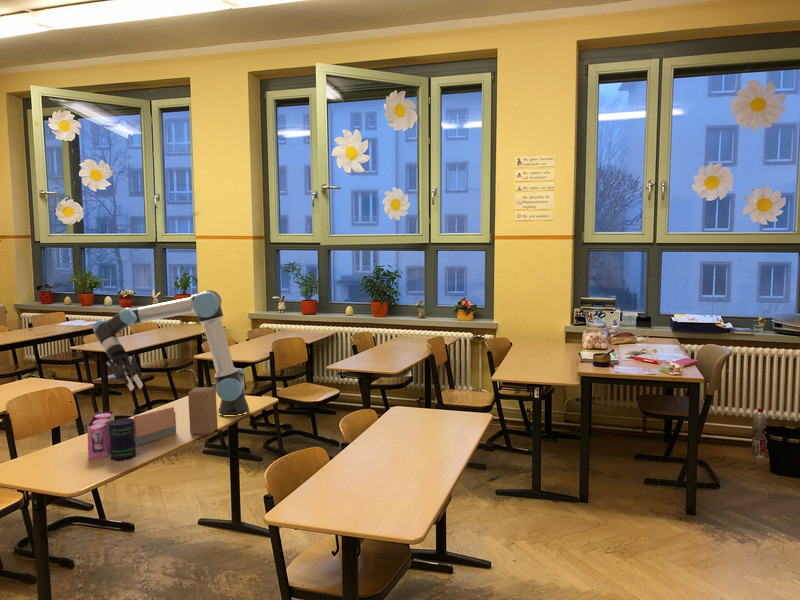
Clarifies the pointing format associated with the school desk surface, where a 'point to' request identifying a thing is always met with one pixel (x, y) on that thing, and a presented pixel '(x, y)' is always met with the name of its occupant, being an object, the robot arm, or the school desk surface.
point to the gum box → (99, 435)
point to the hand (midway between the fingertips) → (136, 388)
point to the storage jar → (122, 439)
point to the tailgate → (154, 421)
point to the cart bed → (156, 435)
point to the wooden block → (202, 410)
